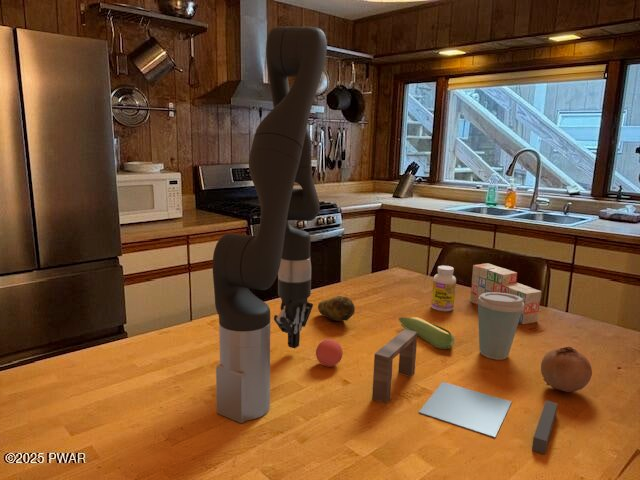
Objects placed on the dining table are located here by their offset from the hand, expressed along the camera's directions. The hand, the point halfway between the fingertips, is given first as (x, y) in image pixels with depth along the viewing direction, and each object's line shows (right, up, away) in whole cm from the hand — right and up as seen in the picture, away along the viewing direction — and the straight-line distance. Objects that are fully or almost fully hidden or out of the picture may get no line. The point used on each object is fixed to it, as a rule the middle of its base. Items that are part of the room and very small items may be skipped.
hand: (293, 346), depth 116 cm
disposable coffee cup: (+48, -3, +3) cm, 49 cm away
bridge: (+22, -5, -13) cm, 26 cm away
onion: (+57, -7, -13) cm, 59 cm away
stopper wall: (+46, -9, -28) cm, 55 cm away
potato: (+11, +2, +21) cm, 24 cm away
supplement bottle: (+43, +4, +34) cm, 55 cm away
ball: (+8, 0, -6) cm, 10 cm away
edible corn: (+33, -1, +12) cm, 36 cm away
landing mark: (+34, -7, -21) cm, 41 cm away
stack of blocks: (+61, +3, +33) cm, 70 cm away
